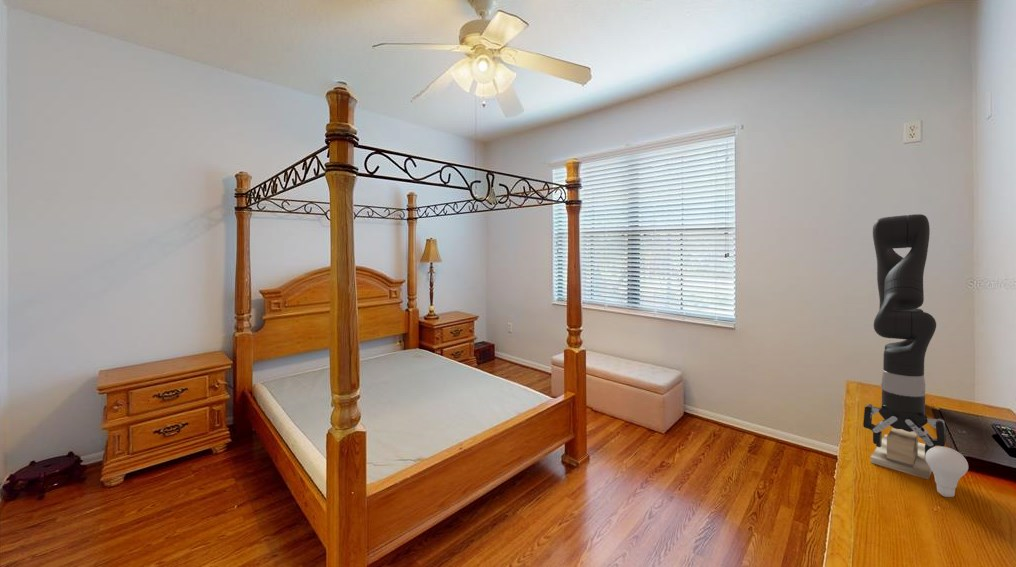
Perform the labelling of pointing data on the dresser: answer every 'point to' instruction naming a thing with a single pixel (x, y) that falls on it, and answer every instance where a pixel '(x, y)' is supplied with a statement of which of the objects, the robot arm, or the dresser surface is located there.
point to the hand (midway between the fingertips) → (902, 452)
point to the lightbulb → (946, 468)
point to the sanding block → (902, 447)
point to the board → (918, 469)
